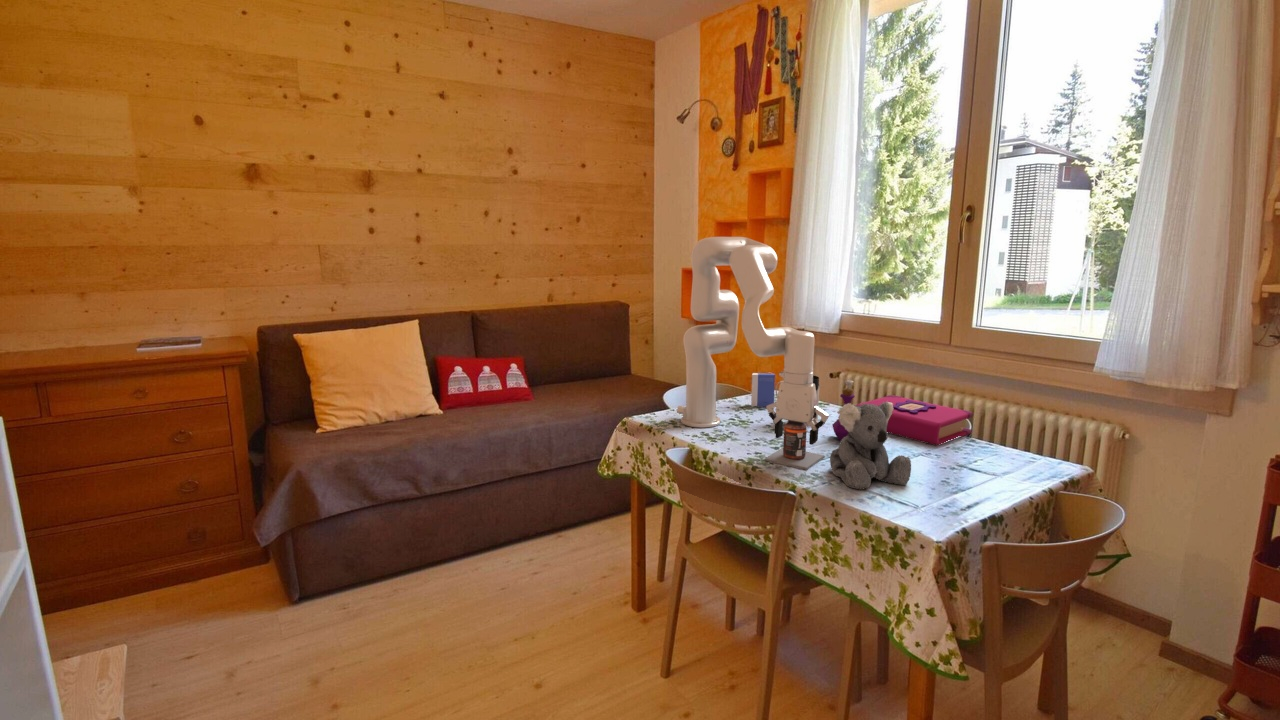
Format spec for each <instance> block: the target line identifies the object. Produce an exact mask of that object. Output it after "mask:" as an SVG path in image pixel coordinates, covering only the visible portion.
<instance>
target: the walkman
mask: <svg viewBox="0 0 1280 720" xmlns="http://www.w3.org/2000/svg"><path fill="white" fill-rule="evenodd" d="M775 382H776V374H775V373H772V371H771V372H769V371H768V372H767V373H766V372H765V373H764V372H762V373H761V372H758V373H757V372H753V373H752V374H751V382H750V383H751V396H750V397H751V401H750V402H751V405H750V407H751V406H759V407H758V408H766V406H767V405H769V404H772V403H775V392H776V390H775V388H776V383H775Z"/></svg>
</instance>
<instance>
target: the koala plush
mask: <svg viewBox="0 0 1280 720" xmlns="http://www.w3.org/2000/svg"><path fill="white" fill-rule="evenodd" d="M856 405H857V404H853V403H852V402H851V403H850V404H849V403H848V404H846V405H844V404H843V405H842V407H839V409H838V411H837V412H836V413H837V414H838V417H837V420H839V422H841V423H840V424H841V425H843V426H844V427H845V429H846V430H847V431H848V433H849V434H848V435H847V436H846V437H844V438H843V439H842V440H841V441H840V443H839V445H838V448H835V449H833V450H832V451H831V454H830V456H829V463H830V464H829V465H830V469H831V472H832V473H833V476H836V477H839V478H841V481H842V482H843V483H844V484H845V486H848V487H850V488H852V489H855V488H856V489H855V490H858V489H859V490H864V489H863V488H866V489H868V488H869V487H871V484H872V483H871V482H872V479H875V478H876V479H875V480H877V479H878V480H879V481H880V480H882V481H881V482H884V481H886V482H885V483H887V482H888V484H893V483H894V485H896V484H901V485H902V486H904V485H907V484H908V482H909V481H910V478H911V473H912V460H911V459H910V457H909V456H905V455H897V456H895V457H894V458H893V459H892V460H891V461H890V460H889V455H888V451H887V449H886V447H885V445H884V444H885V442H886V441H887V439H888V433H887V430H886V429H887V424H888V420H889V418H890V416H891V415H892V411H893V409H894V408H893V403H890V402H888V401H887V402H883V403H882V404H881V405H879V406H876V405H873V404H869V405H868V404H863V405H860V406H856ZM889 461H890V462H889ZM873 477H874V478H873ZM901 485H900V486H901ZM860 488H861V489H860Z"/></svg>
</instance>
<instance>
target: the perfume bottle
mask: <svg viewBox="0 0 1280 720" xmlns="http://www.w3.org/2000/svg"><path fill="white" fill-rule="evenodd" d="M843 382H844V383H845V385H846V386H847V387H845V388H843V389H842V393H841V394H839V395H840V398H842V400H843V406H844V405H846V404H848V403H849V404H850V403H851V404H852V400H853V399H854V398H855V397H856V396H855V395H854V393H853V392H854V389H853V388H852V386H853V385H854V381H853V380H843ZM840 423H841V422H839V420H838V419H836V421H834V423H832V424H831V426H832V429H833V432H834V435H835V436H836V438H837V440H838V442H841V440H842V439H843V438H844V437H846V436H847V435H848V434H849V433H848V431H847V430H846V429H845V427H844V426H843V425H841V424H840Z"/></svg>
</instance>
